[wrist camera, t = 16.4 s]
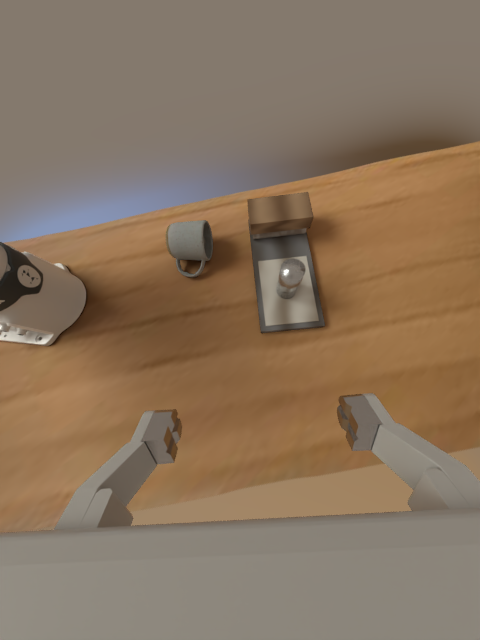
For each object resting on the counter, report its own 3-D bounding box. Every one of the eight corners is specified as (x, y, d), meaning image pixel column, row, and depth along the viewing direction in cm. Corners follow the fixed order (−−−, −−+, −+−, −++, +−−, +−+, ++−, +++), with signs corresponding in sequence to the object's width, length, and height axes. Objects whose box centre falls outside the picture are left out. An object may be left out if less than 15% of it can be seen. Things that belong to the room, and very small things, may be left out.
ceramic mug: (179, 237, 49) (165, 212, 42) (214, 237, 49) (206, 211, 41) (173, 279, 47) (158, 260, 39) (210, 279, 46) (201, 260, 39)
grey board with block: (260, 332, 42) (261, 324, 35) (248, 223, 49) (247, 199, 43) (323, 327, 41) (335, 317, 35) (301, 216, 48) (308, 192, 42)
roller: (277, 299, 42) (282, 281, 34) (274, 281, 43) (278, 259, 35) (297, 297, 42) (307, 279, 34) (294, 279, 43) (303, 257, 35)
